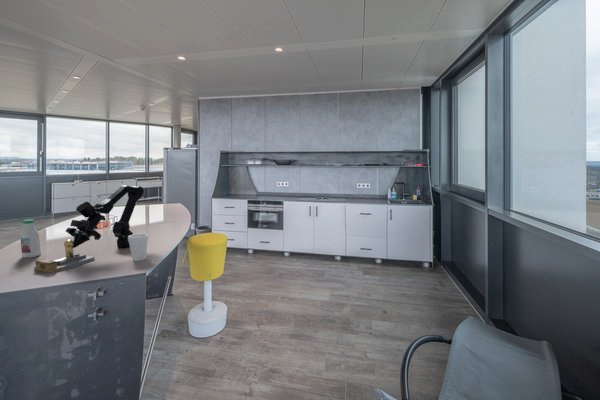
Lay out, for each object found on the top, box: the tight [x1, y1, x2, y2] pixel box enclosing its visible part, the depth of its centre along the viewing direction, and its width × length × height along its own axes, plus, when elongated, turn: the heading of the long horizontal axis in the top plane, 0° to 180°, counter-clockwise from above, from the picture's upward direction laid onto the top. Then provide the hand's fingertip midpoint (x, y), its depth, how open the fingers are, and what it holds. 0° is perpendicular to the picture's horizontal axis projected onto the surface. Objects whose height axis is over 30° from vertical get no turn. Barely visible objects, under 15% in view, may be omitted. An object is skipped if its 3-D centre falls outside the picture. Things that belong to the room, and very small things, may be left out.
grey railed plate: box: [33, 253, 95, 274], centre depth 153 cm, size 21×12×5 cm, turn 163°
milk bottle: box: [20, 218, 42, 259], centre depth 165 cm, size 8×8×20 cm
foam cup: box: [128, 233, 149, 262], centre depth 163 cm, size 10×9×13 cm
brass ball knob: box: [53, 239, 75, 265], centre depth 152 cm, size 10×4×10 cm, turn 163°
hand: (72, 247), depth 157 cm, fingers closed, pressing on brass ball knob
